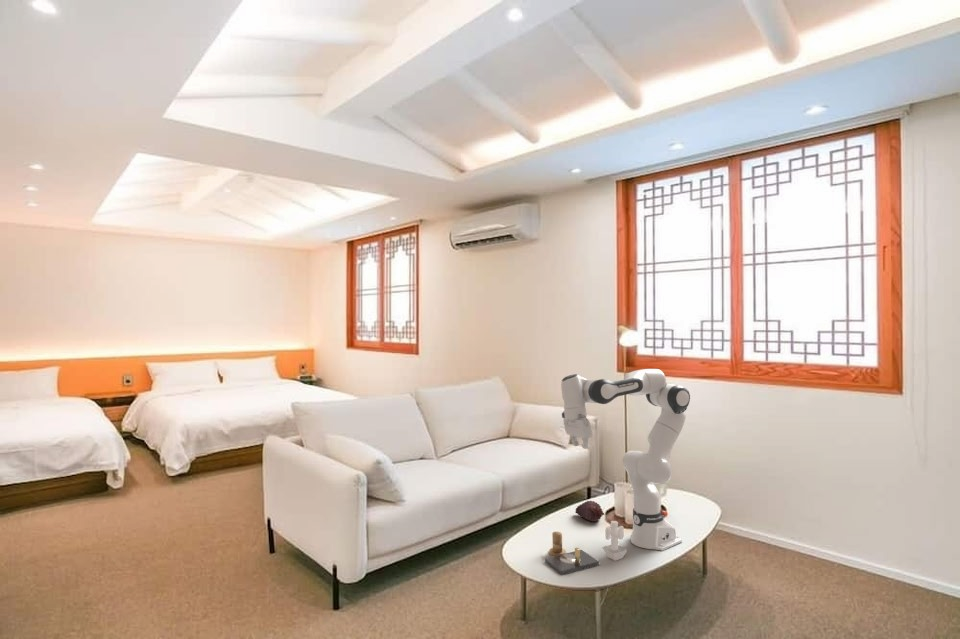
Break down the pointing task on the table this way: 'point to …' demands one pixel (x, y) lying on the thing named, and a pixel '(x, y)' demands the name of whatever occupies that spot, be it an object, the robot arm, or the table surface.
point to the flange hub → (557, 545)
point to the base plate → (571, 562)
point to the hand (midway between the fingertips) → (580, 447)
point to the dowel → (577, 556)
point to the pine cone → (590, 511)
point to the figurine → (614, 541)
